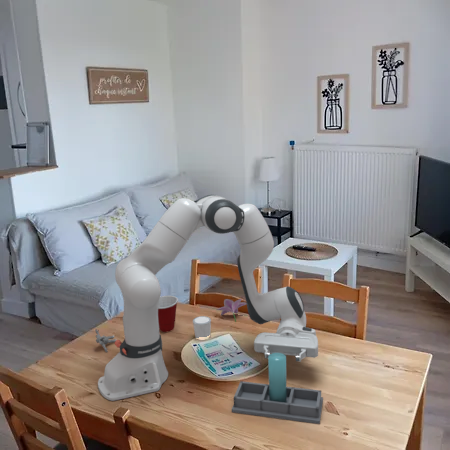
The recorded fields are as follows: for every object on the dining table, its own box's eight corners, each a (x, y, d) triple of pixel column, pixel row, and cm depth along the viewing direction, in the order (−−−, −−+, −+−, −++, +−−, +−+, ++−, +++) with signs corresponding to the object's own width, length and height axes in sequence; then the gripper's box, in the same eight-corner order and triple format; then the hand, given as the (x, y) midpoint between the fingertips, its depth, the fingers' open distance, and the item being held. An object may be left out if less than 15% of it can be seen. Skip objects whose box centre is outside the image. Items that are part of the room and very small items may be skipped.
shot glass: (209, 341, 183) (208, 324, 181) (191, 340, 184) (190, 323, 183) (213, 332, 190) (212, 316, 188) (196, 332, 191) (195, 315, 189)
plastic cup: (150, 325, 198) (147, 297, 195) (176, 320, 201) (174, 293, 198) (155, 337, 188) (152, 308, 185) (182, 332, 191) (180, 303, 188)
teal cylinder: (275, 410, 141) (275, 363, 137) (266, 401, 145) (264, 355, 141) (290, 404, 143) (289, 358, 139) (279, 396, 147) (279, 350, 143)
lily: (252, 317, 203) (246, 294, 205) (246, 318, 192) (239, 294, 194) (225, 325, 206) (219, 302, 208) (217, 326, 195) (211, 303, 196)
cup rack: (231, 412, 143) (231, 400, 141) (240, 390, 153) (240, 378, 152) (319, 424, 136) (319, 411, 135) (322, 400, 146) (323, 388, 145)
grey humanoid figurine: (124, 345, 183) (106, 348, 176) (115, 355, 185) (97, 357, 178) (113, 323, 188) (95, 325, 180) (103, 332, 190) (85, 334, 182)
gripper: (257, 324, 165) (248, 345, 152) (320, 330, 159) (316, 351, 146) (258, 341, 166) (249, 363, 153) (320, 347, 161) (316, 370, 148)
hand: (282, 357), depth 150 cm, fingers open, 8 cm apart
